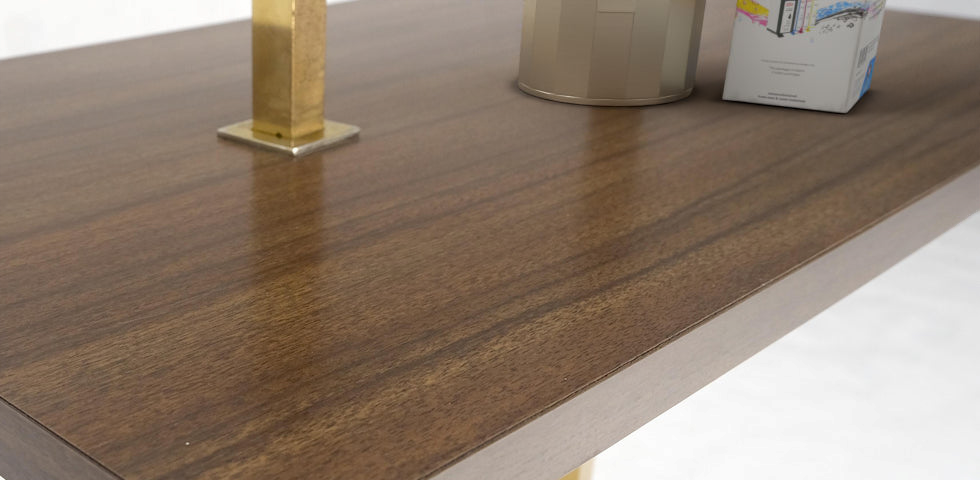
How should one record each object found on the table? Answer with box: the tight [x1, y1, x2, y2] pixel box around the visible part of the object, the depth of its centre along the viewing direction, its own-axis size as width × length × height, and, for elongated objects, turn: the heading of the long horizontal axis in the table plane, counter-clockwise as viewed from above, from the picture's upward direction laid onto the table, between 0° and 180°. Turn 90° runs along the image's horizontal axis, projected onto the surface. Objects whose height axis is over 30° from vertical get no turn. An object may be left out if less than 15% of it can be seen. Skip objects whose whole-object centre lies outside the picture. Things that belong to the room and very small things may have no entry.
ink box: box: [721, 0, 887, 114], centre depth 82 cm, size 9×8×12 cm
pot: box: [517, 0, 707, 107], centre depth 86 cm, size 13×18×8 cm
